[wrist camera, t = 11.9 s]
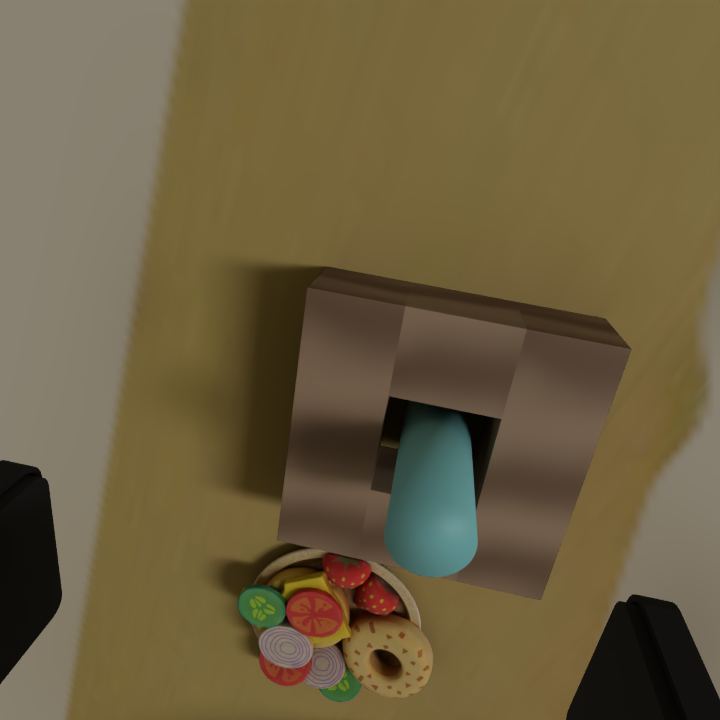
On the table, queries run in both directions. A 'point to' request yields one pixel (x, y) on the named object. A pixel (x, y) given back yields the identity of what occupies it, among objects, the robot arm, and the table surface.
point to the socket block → (450, 390)
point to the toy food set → (337, 626)
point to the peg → (433, 493)
